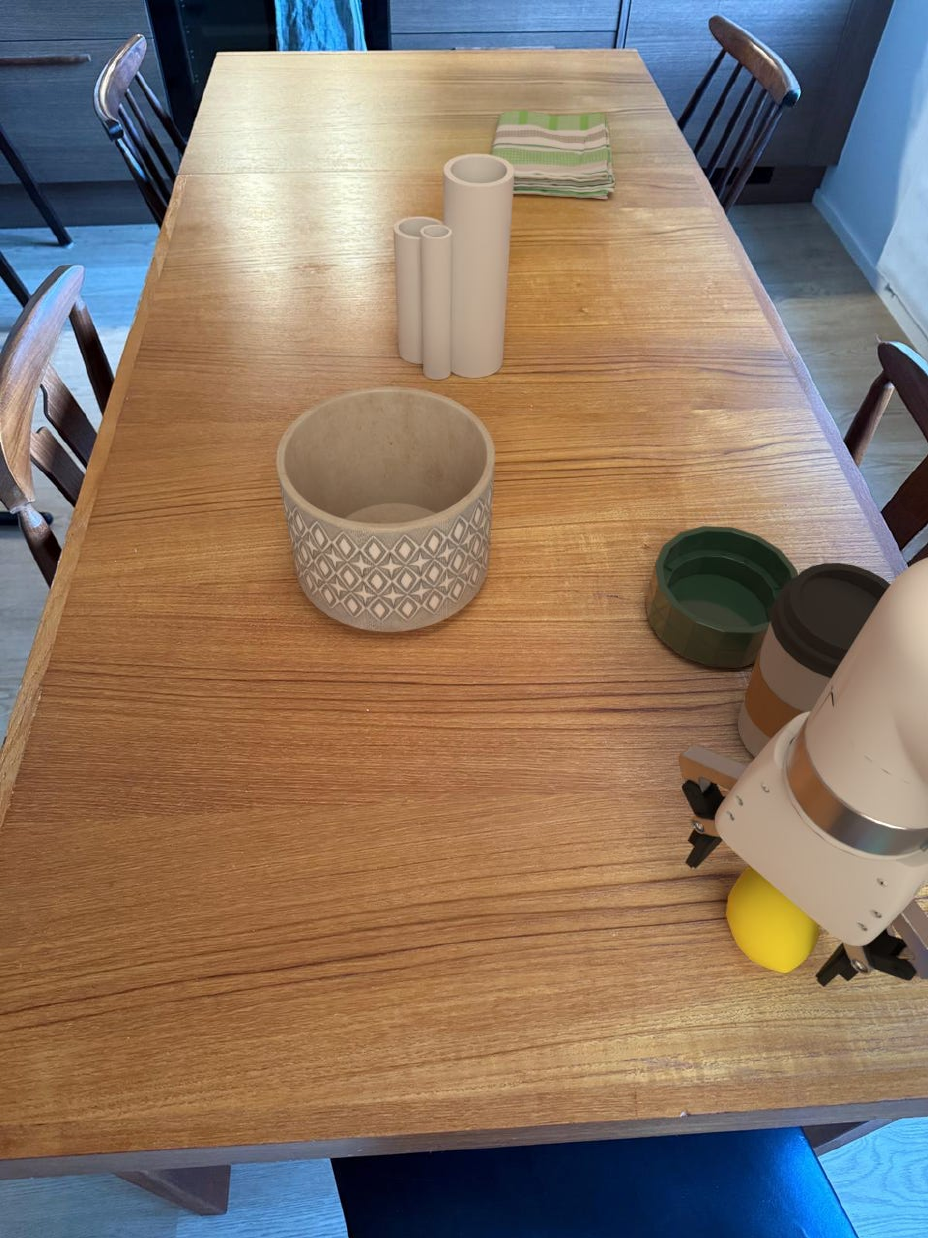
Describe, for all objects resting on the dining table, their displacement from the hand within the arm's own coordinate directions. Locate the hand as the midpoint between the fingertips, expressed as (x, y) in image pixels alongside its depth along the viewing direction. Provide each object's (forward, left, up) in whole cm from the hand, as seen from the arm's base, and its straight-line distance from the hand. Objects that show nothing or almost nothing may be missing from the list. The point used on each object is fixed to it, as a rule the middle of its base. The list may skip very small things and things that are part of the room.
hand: (765, 906), depth 55 cm
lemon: (-1, 0, -3) cm, 3 cm away
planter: (+39, -3, -3) cm, 40 cm away
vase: (+58, -27, -3) cm, 64 cm away
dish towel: (+84, -70, -3) cm, 110 cm away
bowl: (+17, -19, -3) cm, 26 cm away
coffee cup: (+7, -13, -3) cm, 15 cm away
